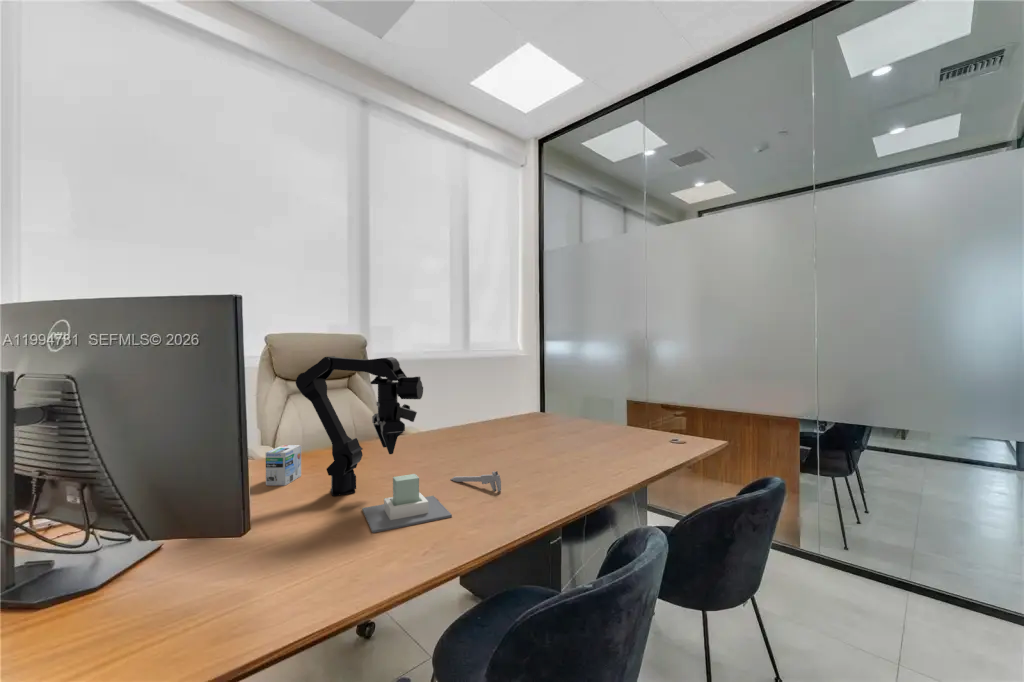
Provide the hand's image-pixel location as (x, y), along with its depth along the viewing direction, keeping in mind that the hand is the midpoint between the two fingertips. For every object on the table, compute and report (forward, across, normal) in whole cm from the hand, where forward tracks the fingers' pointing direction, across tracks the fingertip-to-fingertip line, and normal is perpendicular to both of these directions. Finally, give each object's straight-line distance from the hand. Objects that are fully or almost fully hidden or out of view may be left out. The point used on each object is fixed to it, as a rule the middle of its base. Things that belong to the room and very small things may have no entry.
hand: (387, 450), depth 131 cm
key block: (+12, -18, -1) cm, 22 cm away
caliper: (+13, -6, -26) cm, 30 cm away
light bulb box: (+13, +29, +28) cm, 42 cm away
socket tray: (+13, -18, -1) cm, 22 cm away
